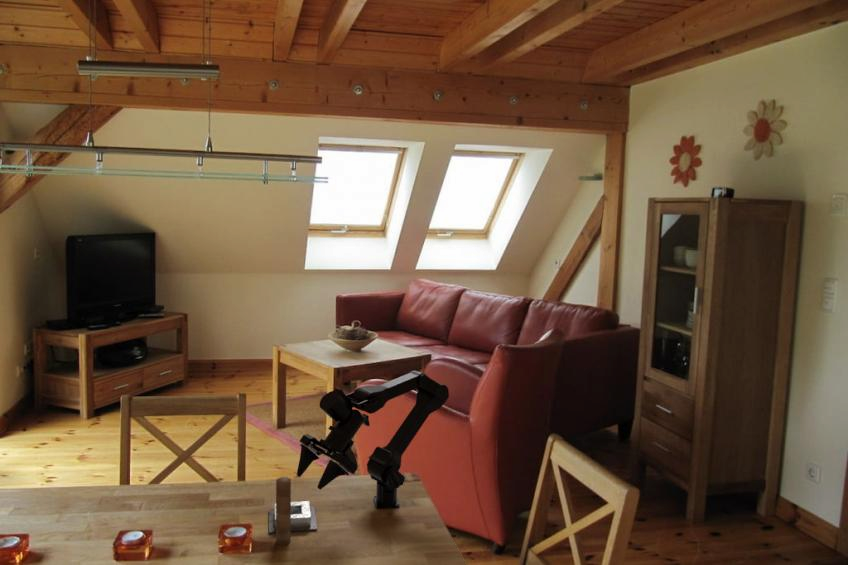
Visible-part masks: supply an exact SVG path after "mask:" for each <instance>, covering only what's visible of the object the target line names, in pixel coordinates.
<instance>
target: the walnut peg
mask: <svg viewBox="0 0 848 565" xmlns="http://www.w3.org/2000/svg"><path fill="white" fill-rule="evenodd" d="M275 492H276V493H275V503H276V534H275V543H276V544H277V545H279V546H285V545H288V544H289V543H291V533H292V532H291V502H292V499H291V492H292V480H291V478H290V477H288V476H282V477H281V476H280V477H278V478H277V479H276V480H275Z"/></svg>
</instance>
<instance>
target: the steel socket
mask: <svg viewBox="0 0 848 565" xmlns="http://www.w3.org/2000/svg"><path fill="white" fill-rule="evenodd" d="M315 510H316V509H315V506H310V501H309V500H305V501H304V500H303V501H291V533H300V532H301V533H302V532H316V531H318V528H317V527H318V525H317V519H316V511H315ZM273 534H275V535H276V502H275V503H274V509H272V508H271V509H268V535H273Z"/></svg>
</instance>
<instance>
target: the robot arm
mask: <svg viewBox="0 0 848 565" xmlns="http://www.w3.org/2000/svg"><path fill="white" fill-rule="evenodd" d="M414 390H417V392H416V398H415V404H414V405H413V407H412V409H411V410H410V411H409V413H408V415H407V416H406V417H405V419H404V420H403V421H402V423H401V425H400V426H399V427H398V429H397V430H396V432H395V433H394V435H393V436H392V437H391V439H390V441H389V442H388V443H387V445H385V446H383V447H380V446H379V445H378V446H376V447H375V449H374V451H373V452H372V454H370V455H369V456H368V461H367V463H366V467H367V468H366V471H367V473H368V474H369V476H370V478H371V479H372V480H374V481H376V491H375V492H376V495H374V496H373V501H374V504H375V508H376V509H384V508H385V509H386V508H387V509H388V508H400V505H401V504H400V502H399V500H398V488H400V487H401V486H403V485H404V483H405V479H406V478H405V476H404V475H403V474H402V473H401V472H400V468H402V459H403V458H402V456H403V455H404V453H405V451H406V450H407V448H408V447H409V446H410V444H411V442H412V441H413V440H414V438H415V437H416V435H417V434H418V433H419V431H420V429H421V428H422V427H423V425H424V424H425V421H427V419H428V418H429V416H430V415H431V414H432V413H434V412H437V410H440V409H441V408H442V407H443V406H444V404H445V403H446V402H447V401H448V399H449V398H450V392H449V387H448V386H447V385H446V384H443V383H440V382H438V381H436V380H434V379H433V378H430V376H428V375H427V374H425V373H423V372H421V371H418V370H411V371H409V373H406V374H403V375H401V376H398V377H397V378H394V379H391V380H389V381H387V382H384V383H381V384H377V385H375V384H374V385H373V384H372V385H365V386H364V385H363V386H359V387H357V388H355V389H354V390H353V391H352V392H350V393H347V394H345V392H344V391H343V390H342V389H341V388H338V387H335V388H334V390H331V391H329V392H326V394H325V395H322V397H321V399H320V401H319V408H320V409H321V410H322V411H323V412H324V413H325V414H326V415H327V416H328V417H329V418H331V419H332V421H334V422H336V423H335V424H334V426H333V425H330V426H329V427H328V430H329V431H330V432H329V433H327V435H326V437H325V438H324V439H323V438H320V440H318V439H317V438H316V437H315V436H312V435H310V434H308V433H307V434H303V435H302V437H301V438H300V439H299V442H300V444H299V446H300V447H301V448H300V456H299V460H298V466H297V470H296V476H297V477H299V478H300V477H301V476H302V475H303V474H304V473H305V472H306V471H307V469H308V468H309V467H310V466H311V464H312V463H313V462H314V461H317V460H319V459H320V457H319V456H322V455H323V456H325V457H327V458H328V459H329V461H328V462H327V464H326V467H325V469H324V471H323V473H322V476H320V479H319V482H318V484H317V486H316V487H317V489H319V490H322V489H323V488H324V487H326V486H328V484H330V483H332V482H333V481H334V480H335V479H336V478H338V477H341V476H349V475H350V474H351V475H354V474H355V473H356V472H357V470H358V467H359V464H358V460H357V458H356V456H355V453H354V452H353V450H352V448H353V446H354V443H355V442H354V440H353V438H354V437H355V436H356V434H357V432H358V431H359V429H361V427H362V426H363V425H364V426H366V427H370V418H369V415H368V414H370V415H371V414H375V413H377V412H378V411H379V410H381V409H382V408H384V407H385V406H386V404H387V402H389V401H391V400H393V399H395V398H398V397H400V396H402V395H405V394H407V393H409V392H412V391H414ZM353 408H354V409H353ZM362 412H364V413H362ZM365 413H367V414H365Z"/></svg>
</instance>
